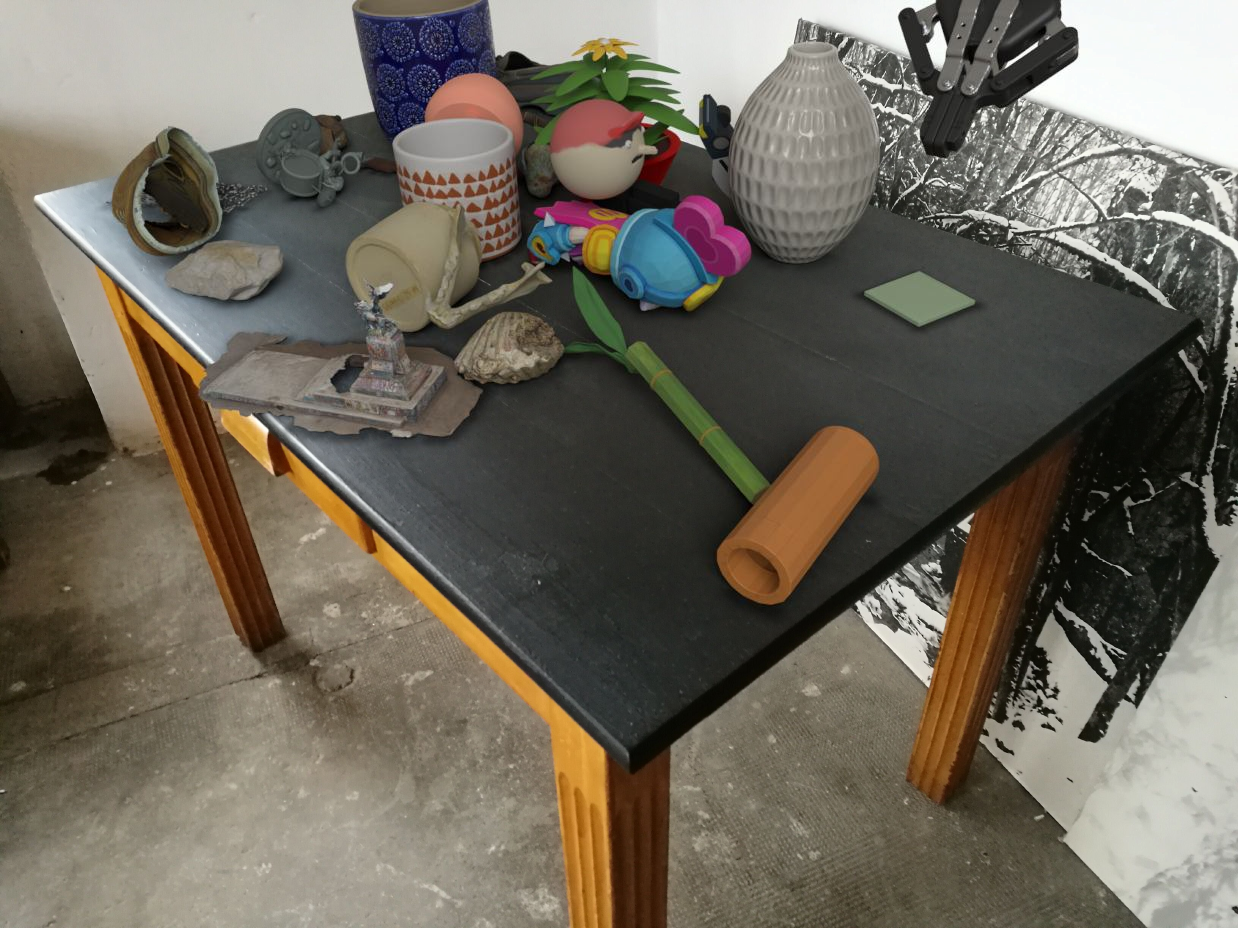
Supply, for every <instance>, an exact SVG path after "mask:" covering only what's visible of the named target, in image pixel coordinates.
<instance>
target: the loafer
mask: <svg viewBox="0 0 1238 928" xmlns="http://www.w3.org/2000/svg"><path fill="white" fill-rule="evenodd" d="M578 61H583V62H584V60H583V59H580V60H579V59H578ZM559 64H560V63H555V64H551V65H549V64H542V63H540V62H537V61H534V60H531V59H530V57H527V56H526V55H525V54H523V53H522V52H519V51H516V50H509V51H507V52H506V53H504V55H503V56H502V55H501V54H497V55H496V66H497V76H498V81H500V82H501V83H502V84H503V85H504V86H505V87H506V88H507V89H508V90H509V91H510V93H511V94H512V96H513V97H514V99H515V100H516V102H517V104H518V106H519V109H521V108H525V107H536V108H540V109H542V110H543V111H544V113H545V114H546V115H549V116H554V117H556V116H557V115H558V114H559V113H561V112H562V111H564V110H566V109H568V108H570V107H569V106H566V105H565V106H563V107H560V108H558V109H555V110H551V111H546V109H547V108H548V107H549V106H550V105H551V104H553V103H530V102H532V101H534V100H536V99H539V98H542V97H545V96H548V95H552V94H556V91H557V90H554V91H547V92H544V91H545V90H547V89H549V88H551V87H553V86H556V85H558V84H561V83H563V82H564V81H565V80H566V79H567V78H568V77H569V76H570V75H571V74H573V73H574V72H575V71H577V70H571V71H566V72H561V73H557V74H554V75H550V76H546V77H543V78H539V79H534V80H530V79H531V78H533V77H534V76H536V75H538V74H539V73H541V72H543V71H545V70H547V69H549V68H552V67H554V66H557V65H559ZM601 72H602V73H604V70H602V71H601ZM591 79H594V80H596V81H597V82H599V80H600V79H599V78H597V77H593V78H591ZM576 89H579V88H575V89H573V90H571V91H570V92H572V91H574V90H576ZM590 97H592V96H590Z"/></svg>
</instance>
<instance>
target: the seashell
mask: <svg viewBox="0 0 1238 928" xmlns="http://www.w3.org/2000/svg"><path fill="white" fill-rule="evenodd" d="M555 333H556V332H555V331H554V327H552V326H549V324H548V322H544V321H543V319H542V318H541V317H538V316H536V315H534V314H530V313H528V312H521V311H519V312H518V311H502V312H500V313H497V314H495V315H493V316H492V317H490V318H489V319H488V320H487V321H486V322H485V323H483V325H482V326H481V327H479V329H477V330H476V332H475V333H473V335H472V336H471V337H470V338H469V340H468V341H467V343H466V344H465V346H463V348H462V349H461V350H460V352H459V354H458V355H457V356H456V358H455V359H454V363H455V368H456V370H457V371H458V373H459V374H463V376H464V379H465V380H467V381H474V380H475V381H476V382H479V383H480V384H481V385H484V384H486V383H496V384H499V385H504V384H507V383H511V384H518V383H519V382H520V381H530V380H531V379H534V378H539V377H541V376H542V375H543V374H547V373H549V370H550V369H551V368H552V369H553V368H554V367H555V366H556V364H557V363H558V360H560V359H561V357H563V354H564V353H563V351H564V347H565V346H564V345H563V344H562V342H561V339H560V338H558V336H555Z"/></svg>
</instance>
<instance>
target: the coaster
mask: <svg viewBox="0 0 1238 928" xmlns="http://www.w3.org/2000/svg"><path fill="white" fill-rule="evenodd" d="M863 296H864V297H866V298H868V299H870V300H871V301H872V302H875V303H876V304H878V305H880V306H882V307H883V308H885V309H887V310H888V311H890V312H892V313H893V314H895V315H897V316H899V317H900V318H902V319H904V320H905V321H907V322H908V323H911V324H912V325H914V326H916V327H917V328H919V327H922V326H925V325H927V324H929V323H933V322H934V321H937V320H939V319H942V318H945V317H947V316H949V315H952V314H954V313H957V312H959V311H961V310H964V309H966V308H969V307H971V306H974V305H975V304H976V300H975V299H973V298H971V297H969V296H967V295H966V294H964V293H962V292H960V291H958V290H956V289H954V288H952V287H950V286H949V285H947V284H945V283H944V282H941V281H939V280H937V279H935V278H933V277H932V276H930V275H928V274H926V273H923V272H922V271H921V270H918V271H915V272H913V273H910V274H907V275H905V276H902V277H899V278H896V279H893V280H891V281H889V282H886V283H884V284H881V285H878V286H875V287H872V288H869V289H867V290H865V291H864V292H863Z"/></svg>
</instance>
